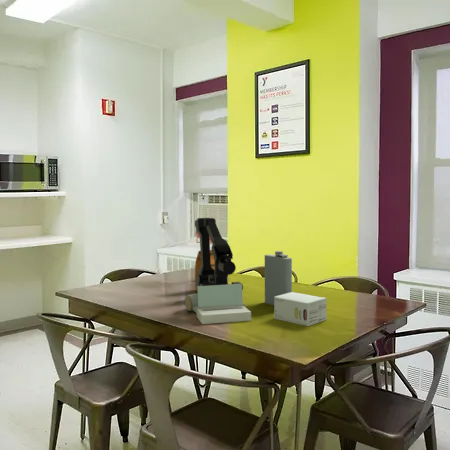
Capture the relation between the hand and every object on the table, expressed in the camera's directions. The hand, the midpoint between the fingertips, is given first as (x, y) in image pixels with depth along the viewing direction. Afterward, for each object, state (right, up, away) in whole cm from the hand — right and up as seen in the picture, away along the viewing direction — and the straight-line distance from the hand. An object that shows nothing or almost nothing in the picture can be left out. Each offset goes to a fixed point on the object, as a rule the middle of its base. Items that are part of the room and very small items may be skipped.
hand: (221, 306), depth 207 cm
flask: (+26, -1, +5) cm, 27 cm away
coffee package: (-7, +1, +40) cm, 40 cm away
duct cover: (0, +6, -12) cm, 14 cm away
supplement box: (+32, -3, -19) cm, 37 cm away
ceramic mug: (-10, -2, -3) cm, 11 cm away
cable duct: (+1, -2, -17) cm, 17 cm away
